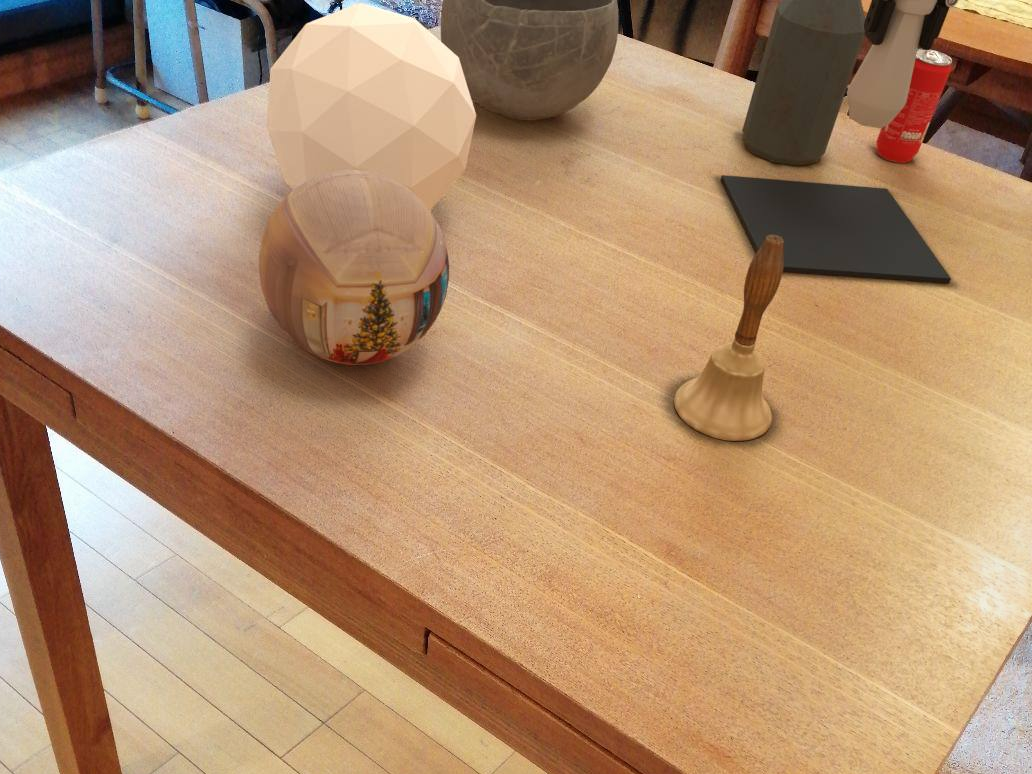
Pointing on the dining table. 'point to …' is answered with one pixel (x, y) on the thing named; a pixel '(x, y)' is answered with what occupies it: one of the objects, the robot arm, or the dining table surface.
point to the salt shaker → (888, 67)
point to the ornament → (353, 267)
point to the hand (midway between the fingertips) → (897, 40)
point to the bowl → (531, 51)
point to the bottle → (803, 79)
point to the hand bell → (737, 363)
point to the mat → (834, 229)
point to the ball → (371, 102)
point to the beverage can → (915, 108)
